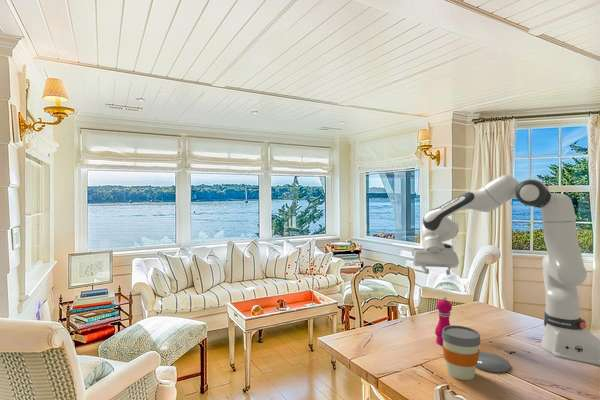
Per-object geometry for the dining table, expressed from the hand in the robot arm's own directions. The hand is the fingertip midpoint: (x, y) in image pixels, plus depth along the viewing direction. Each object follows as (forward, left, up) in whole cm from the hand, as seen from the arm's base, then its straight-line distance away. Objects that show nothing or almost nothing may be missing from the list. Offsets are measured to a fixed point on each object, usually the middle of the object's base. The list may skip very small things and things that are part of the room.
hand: (437, 273), depth 163 cm
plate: (-26, +17, -27) cm, 41 cm away
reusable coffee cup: (-21, +32, -27) cm, 47 cm away
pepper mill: (-7, +10, -27) cm, 30 cm away
